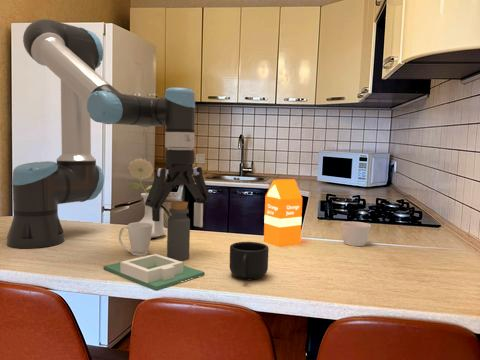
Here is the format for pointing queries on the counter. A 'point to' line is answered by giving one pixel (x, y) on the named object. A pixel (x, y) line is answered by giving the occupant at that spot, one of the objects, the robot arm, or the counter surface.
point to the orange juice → (283, 213)
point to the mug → (248, 259)
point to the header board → (154, 271)
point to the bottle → (178, 231)
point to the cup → (138, 237)
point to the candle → (355, 233)
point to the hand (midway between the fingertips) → (179, 230)
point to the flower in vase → (142, 171)
